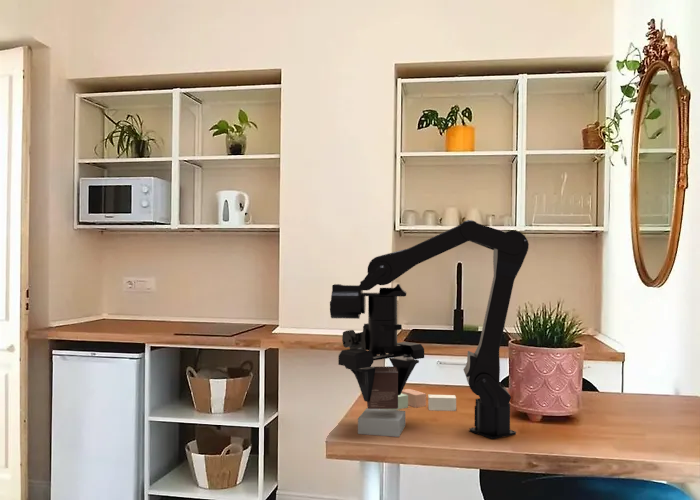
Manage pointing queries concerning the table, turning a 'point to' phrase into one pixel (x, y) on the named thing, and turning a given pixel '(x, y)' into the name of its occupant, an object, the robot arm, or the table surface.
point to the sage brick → (401, 402)
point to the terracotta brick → (415, 398)
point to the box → (384, 389)
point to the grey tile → (381, 422)
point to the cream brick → (442, 402)
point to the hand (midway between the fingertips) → (382, 398)
